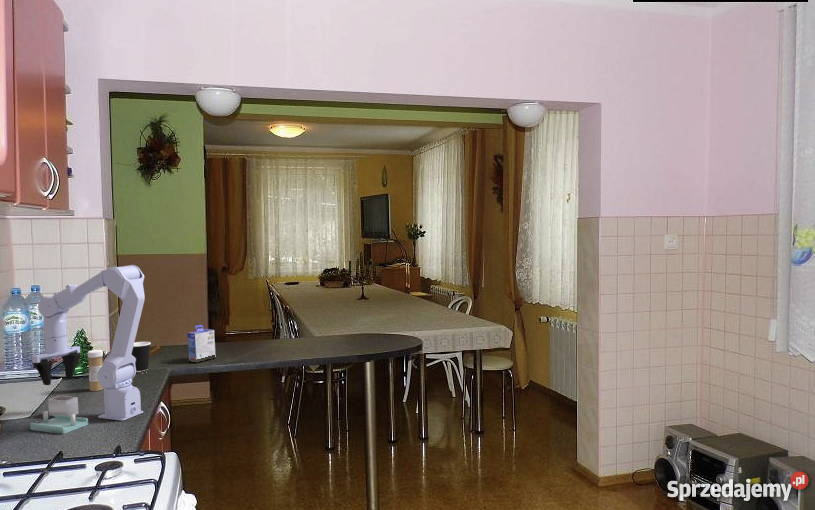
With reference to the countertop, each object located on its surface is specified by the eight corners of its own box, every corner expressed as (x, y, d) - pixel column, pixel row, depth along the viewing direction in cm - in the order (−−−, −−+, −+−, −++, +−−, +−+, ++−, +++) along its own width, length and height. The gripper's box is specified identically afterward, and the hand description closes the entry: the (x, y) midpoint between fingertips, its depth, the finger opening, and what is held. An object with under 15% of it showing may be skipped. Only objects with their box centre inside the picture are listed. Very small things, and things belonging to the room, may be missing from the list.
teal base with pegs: (88, 424, 170) (87, 410, 169) (63, 434, 162) (62, 419, 162) (56, 420, 174) (55, 406, 173) (30, 429, 166) (29, 415, 166)
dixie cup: (125, 374, 227) (123, 345, 226) (136, 369, 235) (134, 341, 234) (145, 374, 226) (144, 345, 225) (155, 369, 234) (154, 341, 233)
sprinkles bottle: (92, 388, 208) (90, 349, 208) (106, 387, 209) (104, 349, 208) (87, 391, 204) (85, 352, 203) (101, 391, 204) (99, 351, 204)
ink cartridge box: (207, 357, 254) (206, 323, 253) (216, 358, 251) (215, 324, 250) (187, 362, 246) (186, 326, 245) (196, 363, 243) (195, 328, 242)
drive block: (78, 413, 180) (77, 397, 180) (66, 418, 176) (65, 400, 176) (61, 411, 182) (60, 395, 182) (49, 415, 179) (48, 398, 178)
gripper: (67, 331, 188) (69, 374, 189) (23, 340, 175) (26, 386, 176) (84, 332, 186) (86, 376, 187) (41, 341, 172) (43, 388, 173)
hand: (58, 381), depth 181 cm, fingers open, 7 cm apart
